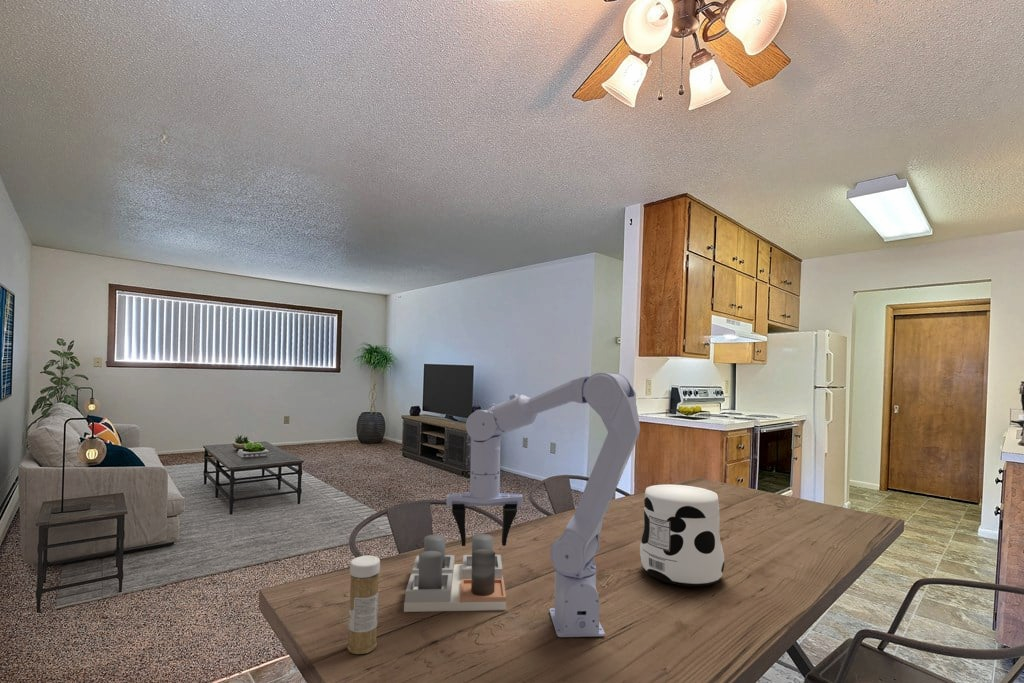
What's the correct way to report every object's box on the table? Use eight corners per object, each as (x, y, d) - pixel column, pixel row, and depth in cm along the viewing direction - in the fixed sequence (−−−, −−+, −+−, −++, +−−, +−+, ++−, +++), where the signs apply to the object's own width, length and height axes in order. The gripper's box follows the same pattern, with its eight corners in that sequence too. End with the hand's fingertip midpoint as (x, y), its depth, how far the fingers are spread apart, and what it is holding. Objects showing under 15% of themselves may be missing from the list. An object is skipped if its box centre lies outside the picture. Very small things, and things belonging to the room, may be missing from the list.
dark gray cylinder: (494, 595, 95) (495, 557, 95) (471, 596, 94) (472, 557, 95) (493, 585, 99) (494, 549, 99) (471, 586, 99) (472, 549, 99)
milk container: (719, 566, 116) (718, 486, 117) (730, 599, 99) (729, 505, 100) (640, 558, 120) (640, 481, 121) (638, 587, 104) (638, 497, 105)
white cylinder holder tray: (505, 610, 93) (506, 562, 93) (403, 611, 91) (405, 563, 92) (500, 570, 111) (501, 531, 111) (415, 571, 110) (416, 531, 110)
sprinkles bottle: (350, 640, 81) (353, 554, 82) (379, 639, 82) (382, 554, 83) (344, 656, 77) (347, 565, 78) (374, 655, 77) (377, 564, 78)
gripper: (520, 468, 103) (519, 537, 102) (448, 468, 101) (446, 537, 101) (524, 475, 96) (523, 549, 95) (446, 475, 94) (444, 550, 94)
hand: (483, 544), depth 97 cm, fingers open, 7 cm apart
